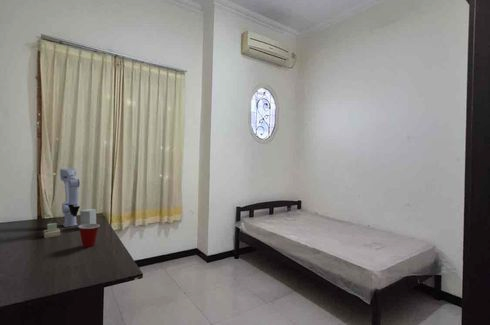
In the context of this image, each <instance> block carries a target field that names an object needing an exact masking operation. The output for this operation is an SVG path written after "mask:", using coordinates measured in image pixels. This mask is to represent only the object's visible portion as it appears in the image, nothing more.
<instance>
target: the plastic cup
mask: <svg viewBox="0 0 490 325" xmlns="http://www.w3.org/2000/svg"><path fill="white" fill-rule="evenodd" d="M100 226H101V225H100V224H98V223H96V224H83V225H81V224H80V225H77V227H78V229H79V232H80V237H81V242H82V246H83V248H90V247H94V246H95V244H96V240H97V235H98V231H99V227H100Z"/></svg>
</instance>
